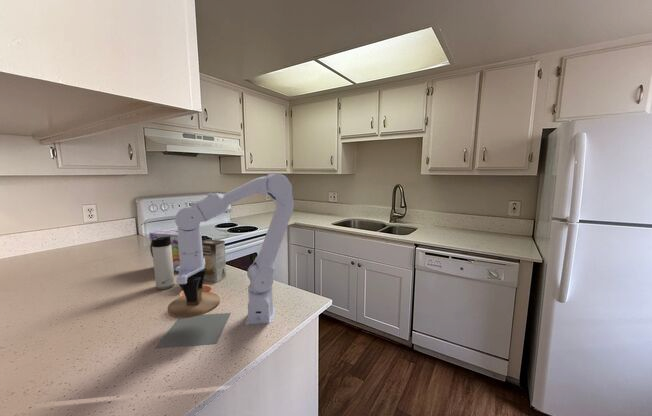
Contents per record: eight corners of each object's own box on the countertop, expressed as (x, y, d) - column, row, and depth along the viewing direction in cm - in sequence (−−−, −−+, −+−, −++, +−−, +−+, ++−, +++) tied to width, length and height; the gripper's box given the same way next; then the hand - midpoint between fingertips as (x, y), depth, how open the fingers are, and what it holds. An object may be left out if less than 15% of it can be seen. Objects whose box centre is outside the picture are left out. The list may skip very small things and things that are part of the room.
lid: (211, 316, 68) (210, 300, 67) (157, 319, 66) (156, 303, 66) (224, 293, 81) (224, 280, 80) (180, 295, 79) (179, 282, 79)
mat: (216, 345, 67) (216, 343, 67) (154, 350, 66) (154, 348, 66) (231, 314, 82) (231, 312, 82) (180, 317, 81) (180, 316, 81)
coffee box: (198, 280, 109) (195, 242, 107) (209, 274, 115) (206, 238, 113) (217, 282, 106) (214, 244, 104) (227, 276, 113) (225, 240, 110)
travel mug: (166, 290, 99) (162, 239, 97) (152, 289, 101) (146, 238, 98) (179, 283, 105) (175, 235, 103) (165, 282, 107) (160, 234, 104)
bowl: (208, 312, 84) (207, 297, 83) (175, 314, 83) (174, 299, 82) (217, 297, 94) (217, 284, 93) (188, 299, 93) (187, 285, 92)
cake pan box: (151, 268, 123) (147, 231, 121) (161, 264, 128) (157, 229, 125) (181, 273, 116) (178, 234, 114) (191, 269, 121) (188, 232, 119)
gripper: (186, 244, 78) (189, 287, 80) (161, 260, 64) (166, 312, 66) (211, 243, 79) (214, 286, 81) (192, 259, 65) (196, 311, 66)
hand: (194, 298), depth 73 cm, fingers closed on lid, 3 cm apart
